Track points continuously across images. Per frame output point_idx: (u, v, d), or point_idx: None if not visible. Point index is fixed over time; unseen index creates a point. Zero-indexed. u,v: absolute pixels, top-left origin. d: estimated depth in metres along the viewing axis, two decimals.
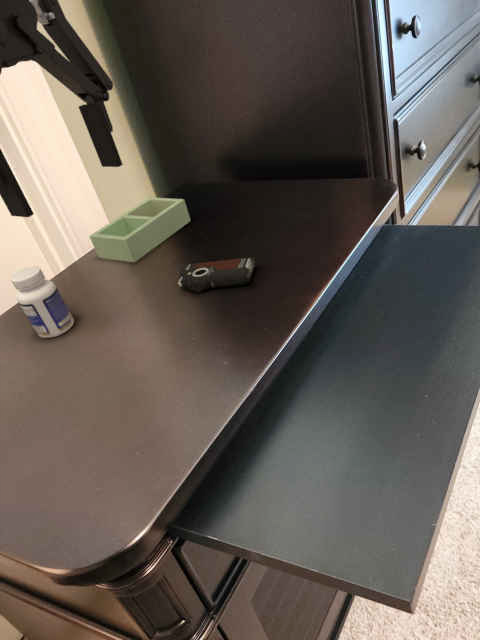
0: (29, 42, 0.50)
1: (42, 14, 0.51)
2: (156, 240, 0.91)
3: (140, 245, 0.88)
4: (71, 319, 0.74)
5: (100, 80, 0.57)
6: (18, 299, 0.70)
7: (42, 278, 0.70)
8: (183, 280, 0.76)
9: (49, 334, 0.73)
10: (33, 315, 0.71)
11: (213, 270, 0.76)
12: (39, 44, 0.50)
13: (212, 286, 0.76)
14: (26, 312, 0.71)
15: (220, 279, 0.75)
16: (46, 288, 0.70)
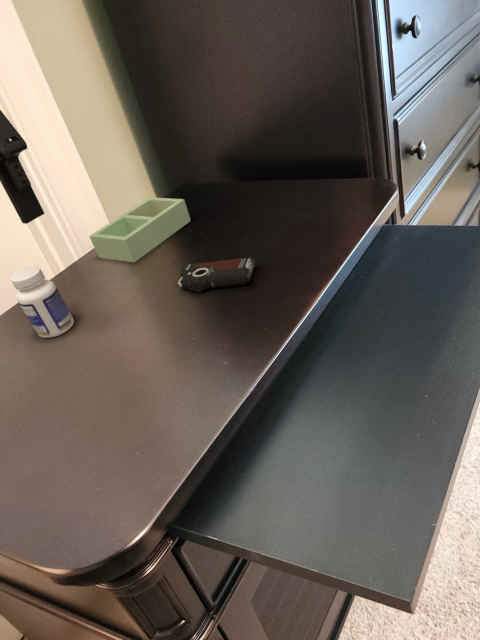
0: None
1: None
2: (156, 240, 0.91)
3: (140, 245, 0.88)
4: (71, 319, 0.74)
5: None
6: (18, 299, 0.70)
7: (42, 278, 0.70)
8: (183, 280, 0.76)
9: (49, 334, 0.73)
10: (33, 315, 0.71)
11: (213, 270, 0.76)
12: None
13: (212, 286, 0.76)
14: (26, 312, 0.71)
15: (220, 279, 0.75)
16: (46, 288, 0.70)
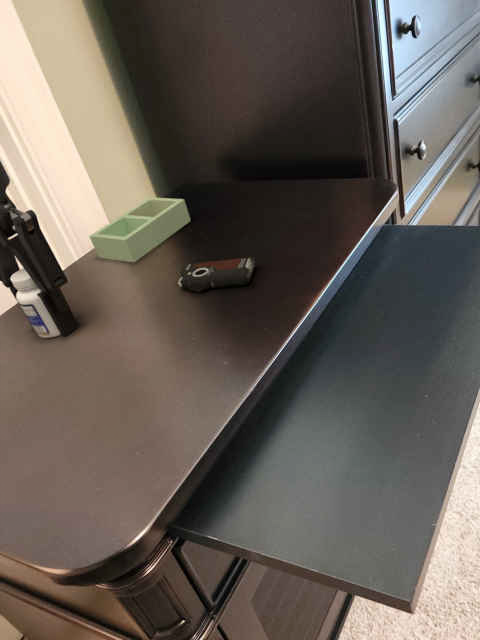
0: None
1: None
2: (156, 240, 0.91)
3: (140, 245, 0.88)
4: None
5: None
6: (18, 299, 0.70)
7: None
8: (183, 280, 0.76)
9: (49, 334, 0.73)
10: (33, 315, 0.71)
11: (213, 270, 0.76)
12: None
13: (212, 286, 0.76)
14: (26, 312, 0.71)
15: (220, 279, 0.75)
16: None
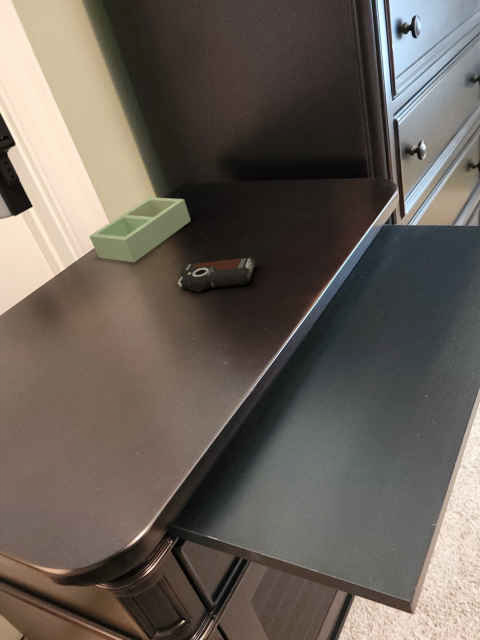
0: None
1: None
2: (156, 240, 0.91)
3: (140, 245, 0.88)
4: None
5: None
6: None
7: None
8: (183, 280, 0.76)
9: None
10: None
11: (213, 270, 0.76)
12: None
13: (212, 286, 0.76)
14: None
15: (220, 279, 0.75)
16: None
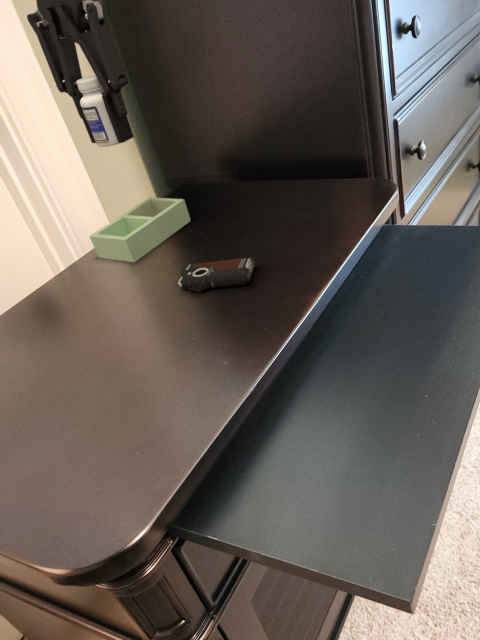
0: None
1: None
2: (156, 240, 0.91)
3: (140, 245, 0.88)
4: None
5: None
6: (82, 102, 0.77)
7: None
8: (183, 280, 0.76)
9: (108, 141, 0.80)
10: (95, 120, 0.78)
11: (213, 270, 0.76)
12: None
13: (212, 286, 0.76)
14: (89, 117, 0.79)
15: (220, 279, 0.75)
16: None
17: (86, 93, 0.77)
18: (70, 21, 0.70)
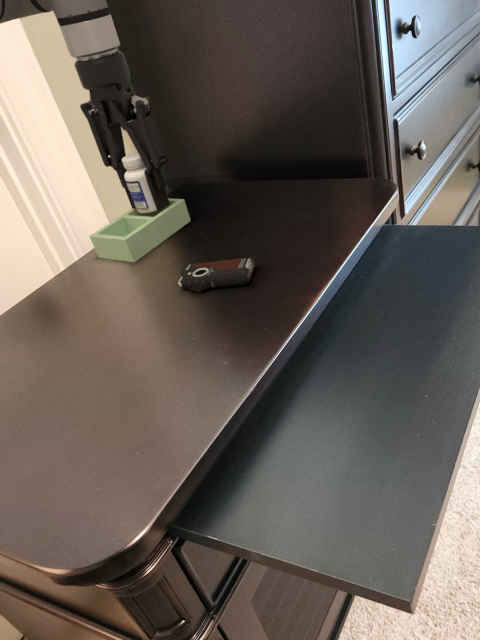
0: None
1: None
2: (156, 240, 0.91)
3: (140, 245, 0.88)
4: None
5: None
6: (127, 177, 0.88)
7: None
8: (183, 280, 0.76)
9: (148, 209, 0.91)
10: (137, 192, 0.89)
11: (213, 270, 0.76)
12: None
13: (212, 286, 0.76)
14: (132, 189, 0.89)
15: (220, 279, 0.75)
16: None
17: (130, 169, 0.88)
18: (120, 113, 0.81)
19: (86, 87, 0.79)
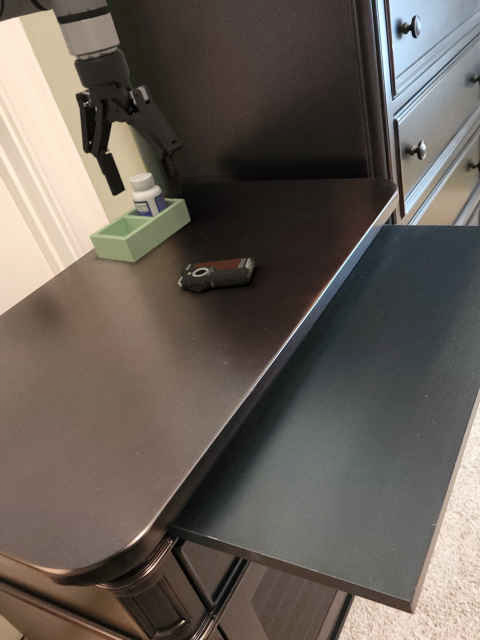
0: None
1: None
2: (156, 240, 0.91)
3: (140, 245, 0.88)
4: None
5: None
6: (135, 197, 0.90)
7: (153, 181, 0.90)
8: (183, 280, 0.76)
9: None
10: (145, 211, 0.91)
11: (213, 270, 0.76)
12: None
13: (212, 286, 0.76)
14: (140, 209, 0.91)
15: (220, 279, 0.75)
16: (156, 189, 0.91)
17: (138, 190, 0.90)
18: (120, 108, 0.81)
19: (85, 86, 0.78)
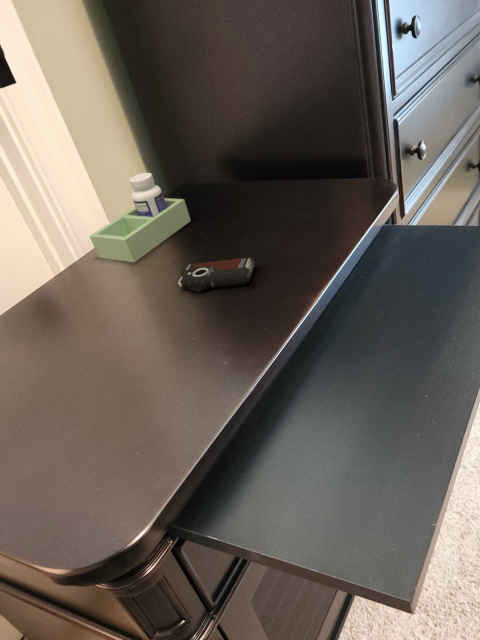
0: None
1: None
2: (156, 240, 0.91)
3: (140, 245, 0.88)
4: None
5: None
6: (135, 197, 0.90)
7: (153, 181, 0.90)
8: (183, 280, 0.76)
9: None
10: (145, 211, 0.91)
11: (213, 270, 0.76)
12: None
13: (212, 286, 0.76)
14: (140, 209, 0.91)
15: (220, 279, 0.75)
16: (156, 189, 0.91)
17: (138, 190, 0.90)
18: None
19: None
